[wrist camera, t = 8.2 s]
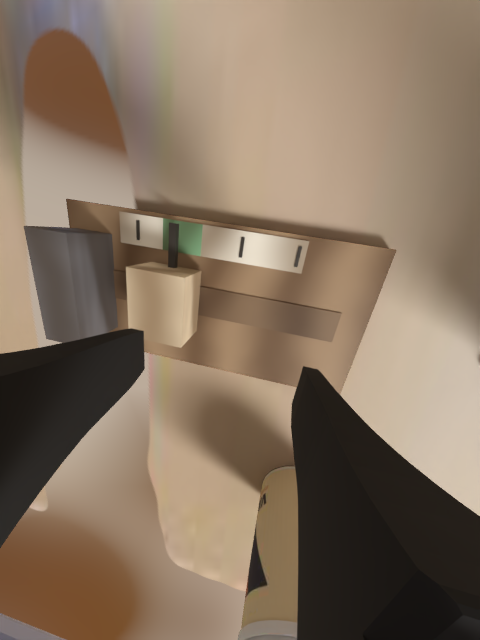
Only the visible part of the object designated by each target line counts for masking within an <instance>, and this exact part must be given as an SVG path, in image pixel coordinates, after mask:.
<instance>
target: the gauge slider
mask: <svg viewBox="0 0 480 640" xmlns="http://www.w3.org/2000/svg"><path fill="white" fill-rule="evenodd" d="M178 241H179V224H176V223H169V245H168V265H167V264H161V263H156V262H148V263H143V264H138V265H133V266H128V267H126V283H127V305H128V327H129V329H130V328H132V329H137V330H142V331H144V340H148V341H152V342H157V343H161V344H166V345H170V346H175V347H179V348H181V347H182V346H183V345H184V344H185V343H186V342H187V341H188V340H189V339H190V338H191V337H192V335H193V334H194V333H195V332H196V331H197V321H198V308H199V296H200V283H201V271H200V270H194V269H189V268H183V267H178Z"/></svg>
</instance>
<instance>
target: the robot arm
mask: <svg viewBox="0 0 480 640" xmlns="http://www.w3.org/2000/svg"><path fill="white" fill-rule="evenodd" d="M143 370H144V331H142V330H137V329H132V328H130V329H123V330H118V331H113V332H109V333H104V334H100V335H96V336H92V337H88V338H83V339H79V340H75V341H70V342H65V343H61V344H56V345H52V346H47V347H42V348H36V349H30V350H24V351H17V352H11V353H4V354H0V548H1V546H2V545H3V543H4V542H5V540H6V539H7V537H8V536H9V534H10V533H11V531H12V530H13V529H14V527H15V526H16V524H17V523H18V521H19V520H20V519H21V517H22V516H23V515H24V513H25V512H26V510H27V509H28V508H29V506H30V505H31V504H32V502H33V501H34V499H35V498H36V497H37V495H38V494H39V492H40V491H41V490H42V488H43V487H44V486H45V485H46V483H47V482H48V481H49V479H50V478H51V477H52V475H53V474H54V473H55V472H56V470H57V469H58V468H59V466H60V465H61V464H62V462H63V461H64V460H65V459H66V457H67V456H68V455H69V454H70V453H71V451H72V450H73V449H74V448H75V446H76V445H77V444H78V443H79V442H80V440H81V439H82V438H83V437H84V436H85V435H86V433H87V432H88V431H89V430H90V429H91V428H92V427H93V426H94V425H95V424H96V423H97V422H98V421H99V420H100V418H102V417H103V416H104V415H105V413H106V412H108V410H109V409H110V408H111V407H112V406H113V405H114V404H115V403H116V402H117V401H118V400H119V399H120V398H121V397H122V396H123V395H124V394H125V393H126V392H127V391H128V390H129V389H130V388H131V386H132V385H133V384H134V383H135V381H136V380H137V379H138V377H139V376H140V375H141V373H142V372H143ZM291 429H292V440H293V450H294V460H295V470H296V480H297V494H298V611H297V640H480V516H478V515H477V514H476V513H474V512H473V511H471V510H470V509H469V508H467V507H466V506H464V505H463V504H462V503H460V502H459V501H458V500H456V499H455V498H454V497H452V496H451V495H450V494H448V493H447V492H446V491H444V490H443V489H442V488H440V487H439V486H438V485H436V484H435V483H434V482H433V481H431V480H430V479H429V478H428V477H426V476H425V475H424V474H423V473H421V472H420V471H419V470H418V469H416V468H415V467H414V466H413V465H411V464H410V463H409V462H408V461H407V460H406V459H404V458H403V457H402V456H401V455H400V454H398V453H397V452H396V451H395V450H394V449H393V448H392V447H391V446H390V445H388V444H387V443H386V442H385V441H384V440H383V439H382V438H381V437H380V436H379V435H377V434H376V433H375V432H374V431H373V430H372V429H371V428H370V427H369V426H368V425H367V424H366V423H365V422H364V421H363V420H362V419H361V418H360V417H359V416H358V414H357V413H356V412H355V411H354V410H353V409H352V408H351V407H350V406H349V405H348V404H347V403H346V401H345V400H344V399H343V398H342V397H341V396H340V395H339V393H338V392H337V391H336V390H335V389H334V387H333V386H332V385H331V384H330V383H329V381H328V380H327V379H326V378H325V377H324V375H323V374H322V373H321V372H320V371H319V370H318V369H314V368H310V367H305V366H303V369H302V372H301V375H300V379H299V382H298V385H297V389H296V392H295V396H294V399H293V402H292V416H291ZM0 640H65V639H63V638H60V637H58V636H55V635H53V634H50V633H48V632H45V631H43V630H40V629H38V628H36V627H33V626H30V625H28V624H25V623H23V622H21V621H18V620H15V619H13V618H11V617H8V616H6V615H3V614H1V613H0Z"/></svg>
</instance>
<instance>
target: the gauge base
mask: <svg viewBox="0 0 480 640" xmlns="http://www.w3.org/2000/svg"><path fill="white" fill-rule="evenodd" d="M66 201H67V209H68V217H69V225H70V228H62V227H38V226H36V227H35V226H24V230H25V235H26V240H27V245H28V250H29V255H30V260H31V265H32V270H33V275H34V280H35V285H36V290H37V295H38V299H39V305H40V309H41V315H42V319H43V325H44V329H45V335H46V339H50V340H54V341H58V342H62V343H65V342H70V341H75V340H79V339H83V338H88V337H92V336H96V335H100V334H104V333H109V332H113V331H118V330H123V329H129V327H128V305H127V283H126V267H128V266H133V265H138V264H143V263H148V262H156V263H161V264H167V265H168V245H169V223H176V224H179V241H178V267H183V268H189V269H194V270H200V271H201V283H200V296H199V308H198V321H197V331H196V332H195V333H194V334H193V335H192V337H191V338H190V339H189V340H188V341H187V342H186V343H185V344H184V345H183V346H182V347H181V348H179V347H175V346H170V345H166V344H161V343H157V342H152V341H148V340H144V352H147V353H151V354H155V355H160V356H164V357H168V358H172V359H177V360H181V361H185V362H190V363H194V364H198V365H203V366H207V367H211V368H216V369H220V370H224V371H229V372H233V373H237V374H242V375H246V376H250V377H255V378H259V379H263V380H268V381H272V382H276V383H281V384H285V385H289V386H294V387H297V385H298V382H299V379H300V375H301V372H302V369H303V366H305V367H310V368H314V369H318V370H319V371H320V372H321V373H322V374H323V375H324V377H325V378H326V379H327V380H328V381H329V383H330V384H331V385H332V386H333V387H334V389H335V390H336V391H337V392H338V393H339V395H340V393H341V391H342V388H343V386H344V383H345V381H346V378H347V375H348V373H349V370H350V368H351V365H352V363H353V360H354V358H355V355H356V352H357V350H358V347H359V345H360V342H361V340H362V337H363V334H364V332H365V329H366V327H367V324H368V322H369V319H370V317H371V314H372V311H373V309H374V306H375V304H376V301H377V299H378V296H379V294H380V291H381V288H382V286H383V283H384V281H385V278H386V276H387V273H388V270H389V268H390V265H391V263H392V260H393V258H394V255H395V253H396V250H394V249H388V248H381V247H375V246H368V245H362V244H355V243H349V242H342V241H336V240H329V239H323V238H317V237H310V236H304V235H297V234H291V233H284V232H278V231H271V230H265V229H258V228H252V227H245V226H239V225H233V224H226V223H220V222H213V221H207V220H200V219H194V218H187V217H181V216H174V215H168V214H161V213H155V212H149V211H142V210H136V209H129V208H122V207H116V206H110V205H103V204H97V203H90V202H83V201H77V200H71V199H66Z"/></svg>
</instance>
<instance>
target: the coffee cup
mask: <svg viewBox="0 0 480 640" xmlns="http://www.w3.org/2000/svg"><path fill="white" fill-rule="evenodd" d="M297 611H298V494H297V480H296V470H295V466H285V467H280V468H277V469H274V470H273V471H271V472H270V473H268V474H267V475H266V477H265V478H264V481H263V484H262V490H261V495H260V501H259V508H258V515H257V521H256V528H255V535H254V541H253V548H252V554H251V561H250V568H249V575H248V582H247V589H246V596H245V604H244V611H243V618H242V627H241V630H240V632H239V635H238V640H297Z"/></svg>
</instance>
